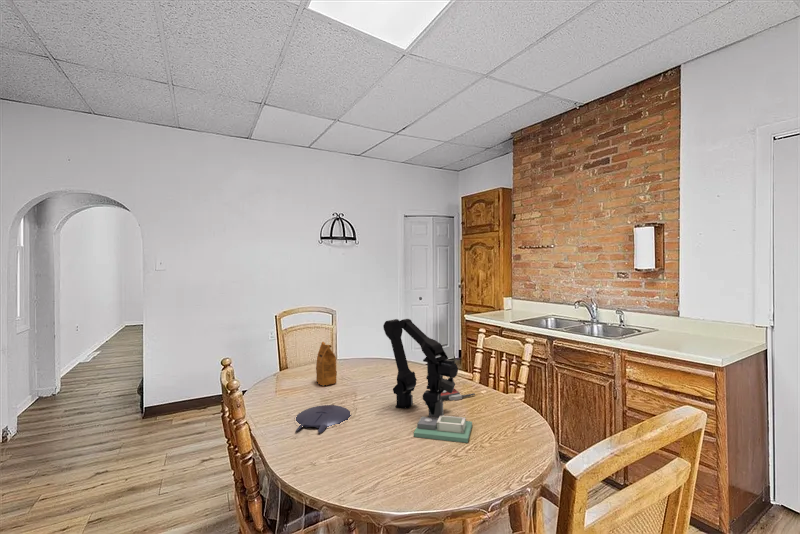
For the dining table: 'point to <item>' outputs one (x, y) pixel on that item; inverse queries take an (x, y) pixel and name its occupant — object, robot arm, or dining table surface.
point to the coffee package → (326, 366)
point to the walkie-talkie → (453, 395)
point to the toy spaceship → (322, 416)
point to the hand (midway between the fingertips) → (435, 410)
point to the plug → (437, 409)
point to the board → (444, 428)
